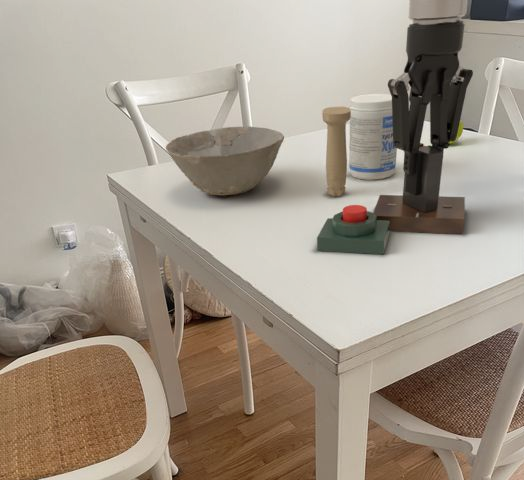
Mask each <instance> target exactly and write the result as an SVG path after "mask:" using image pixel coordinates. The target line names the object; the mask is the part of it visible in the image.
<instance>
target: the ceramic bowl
mask: <svg viewBox="0 0 524 480" xmlns="http://www.w3.org/2000/svg"><path fill="white" fill-rule="evenodd" d="M284 139H285V135H284V134H283V133H282V132H280V131H278V130H275V129H271V128H266V127H258V126H229V127H228V126H227V127H220V128H214V129H209V130H201V131H197V132H194V133H190V134H186V135H182V136H178V137H176V138H174V139H172V140H171V141H170V142H168V143H166V145H165V150H166V152H167V153H168V155H169V156H170V158H171V159H172V160H173V162H174V164H175V165H176V166H177V167H178V169H179V170H180V171H181V173H183V174H184V176H185V177H186V178H187V179H188V181H190V183H192V185H193V186H194V187H196V188H197V189H199V190H200V191H201V192H202V193H204V194H207V195H213V196H232V195H234V196H235V195H239V194H244V193H246V192H249V191H251V190H253V188H255V187H256V186H257V185H258V184H259V183H260V182H261V181H262V180H263V179H264V178H265V177H266V176H268V174H269V172H270V171H271V170H272V167H273V166H274V163H275V161H276V158H277V156H278V154H279V151H280V148H281V146H282V144H283V142H284Z"/></svg>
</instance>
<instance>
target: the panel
mask: <svg viewBox="0 0 524 480" xmlns="http://www.w3.org/2000/svg"><path fill="white" fill-rule="evenodd" d="M402 200H403V194H401V195H399V194H398V195H397V194H379V196H378V198H377V202H376V204H375V207H374V209H373V211H372V213H373V214H375V215H376V216H377V220H386V221H390V232H402V233H423V234H425V233H426V234H446V235H463V233H464V225H465V217H466V216H465V212H466V211H465V210H466V208H465V207H466V206H465V205H466V201H465V200H466V196H440V195H439V198H438V207H437V210H433V211H429V212H422V211H420V210H418V209H416V208H414V207H412V206H410V205H408V204H406V203H403V202H402Z"/></svg>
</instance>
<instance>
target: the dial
mask: <svg viewBox="0 0 524 480" xmlns="http://www.w3.org/2000/svg"><path fill="white" fill-rule="evenodd" d="M427 146H428V145H425V144H424V143H422V142H420V146H419V151H420V152H423V159H422V170H421V181H420V192H419V195H417V196H415V195H412V194H410V193H408V192H406V191H405V186H406V173H405V172H403V173H404V174H403V187H402V188H403V190H402V195H403V200H402V202H403V203H406V204H408V205H410V206H412V207H414V208H416V209H418V210H420V211H422V212H429V211H433V210H437V207H438V198H439V196H440V190H441V180H442V179H441V178H442V170H443V161H444V152H443V151H440V150H437V149H433V148H430V147H427Z"/></svg>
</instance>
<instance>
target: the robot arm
mask: <svg viewBox="0 0 524 480" xmlns="http://www.w3.org/2000/svg"><path fill="white" fill-rule="evenodd" d="M467 9H468V0H409V3H408V19H409V20H410V21H412V23H410V24H409V25H408V27H407V29H406V30H407V31H406V45H405V52H406V56H407V60H406V64H405V66H404V68H403V73H402V74H401V75H399V76H398V77H397V78H390V79H389V80H388V82H387V88H388V90H389V94H391V96H392V120H393V146H394V147H395V148H397V150H400V151H403V166H402V167H403V168H402V170H403V173H406V186H405V191H406V192H408V193H410V194H412V195H415V196H417V195H419V192H420V181H421V170H422V159H423V152H420V151H419V146H420V143H421V140H422V136H423V135H422V134H423V130H424V124H425V119H426V113H427V107H428V105H429V126H430V127H429V133H430V134H429V135H430V136H429V137H430V138H429V141H430V142H429V143H430V145H426V146H427V147H430V148H433V149H437V150H440V151H443V152H444V151H445V149H446V150H447V149H449V147H450V146H451V144H450V143H448V142H450V141H455V139H456V137H457V133H458V128H459V123H460V119H462V113H463V110H464V109H463V108H464V103H465V100H466V94H467V89H468V86H469V85H470V82H471V80H472V78H473V76H474V71H473V70H472V69H470V68H469V69H468V68H464V67H462V66H461V65H460V60H459V52H460V51H461V50H462V48H463V41H464V33H465V25H466V24H465V23H464V20H462V17H465V15H466V14H467V11H468V10H467ZM408 91H409V93H408ZM449 131H450V132H449ZM455 142H456V141H455Z"/></svg>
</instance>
